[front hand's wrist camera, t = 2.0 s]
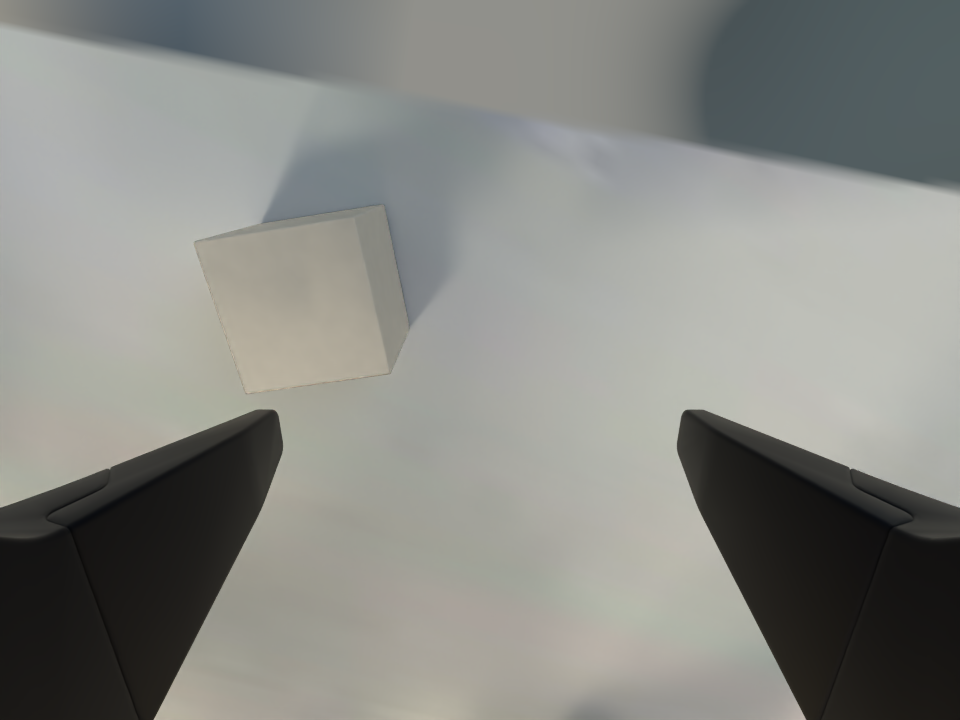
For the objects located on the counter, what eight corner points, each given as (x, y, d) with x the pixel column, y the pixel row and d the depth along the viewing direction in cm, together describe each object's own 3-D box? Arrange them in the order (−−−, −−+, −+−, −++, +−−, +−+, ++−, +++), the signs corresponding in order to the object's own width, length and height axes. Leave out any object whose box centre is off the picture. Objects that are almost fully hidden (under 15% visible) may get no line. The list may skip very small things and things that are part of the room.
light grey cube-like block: (384, 203, 18) (354, 216, 13) (410, 329, 19) (391, 374, 15) (258, 223, 18) (191, 241, 14) (295, 345, 20) (245, 395, 15)
